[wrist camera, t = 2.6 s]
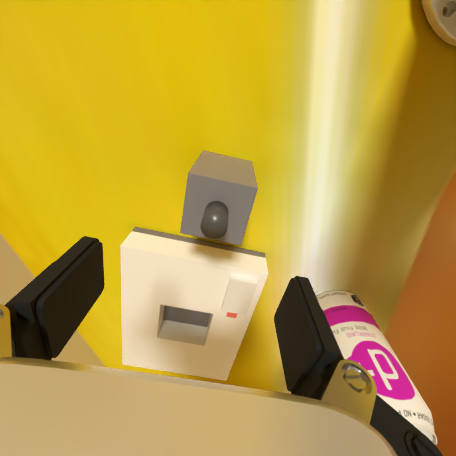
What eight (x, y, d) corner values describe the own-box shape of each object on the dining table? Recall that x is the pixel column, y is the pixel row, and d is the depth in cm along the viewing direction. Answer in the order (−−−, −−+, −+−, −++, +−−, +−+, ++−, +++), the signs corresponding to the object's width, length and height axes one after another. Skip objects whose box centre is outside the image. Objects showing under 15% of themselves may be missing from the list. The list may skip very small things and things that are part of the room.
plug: (251, 161, 23) (260, 201, 14) (239, 205, 26) (241, 263, 17) (203, 150, 23) (181, 183, 14) (195, 196, 26) (172, 250, 16)
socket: (264, 253, 29) (269, 279, 25) (227, 355, 39) (226, 386, 35) (135, 226, 28) (117, 249, 23) (132, 340, 38) (119, 369, 34)
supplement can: (308, 285, 31) (358, 420, 18) (369, 288, 31) (466, 427, 18) (297, 325, 35) (332, 460, 22) (352, 328, 35) (420, 465, 22)
